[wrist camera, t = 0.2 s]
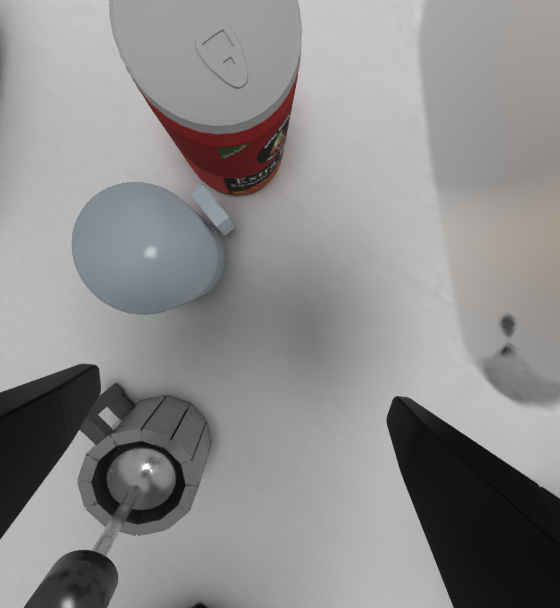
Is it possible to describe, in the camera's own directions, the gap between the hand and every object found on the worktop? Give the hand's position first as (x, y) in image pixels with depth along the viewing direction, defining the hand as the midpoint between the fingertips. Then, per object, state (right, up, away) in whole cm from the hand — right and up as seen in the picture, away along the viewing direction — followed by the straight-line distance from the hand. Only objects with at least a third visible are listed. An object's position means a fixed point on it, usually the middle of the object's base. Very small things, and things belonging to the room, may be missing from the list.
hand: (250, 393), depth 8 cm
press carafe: (-10, -9, +16) cm, 21 cm away
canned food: (-3, +15, +14) cm, 21 cm away
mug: (-7, +7, +14) cm, 17 cm away
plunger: (-9, -10, +12) cm, 18 cm away
